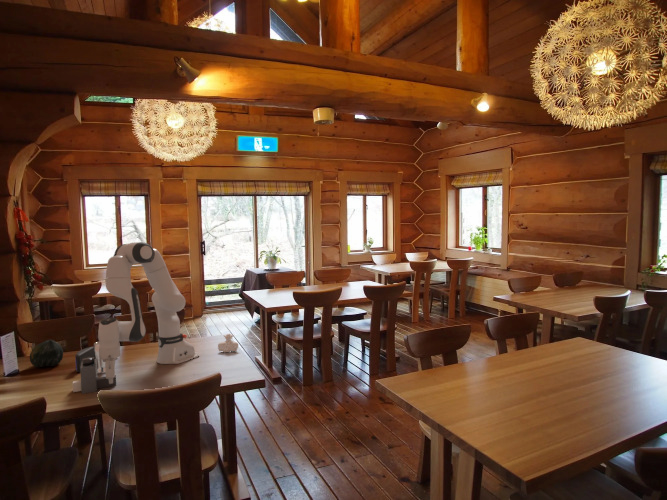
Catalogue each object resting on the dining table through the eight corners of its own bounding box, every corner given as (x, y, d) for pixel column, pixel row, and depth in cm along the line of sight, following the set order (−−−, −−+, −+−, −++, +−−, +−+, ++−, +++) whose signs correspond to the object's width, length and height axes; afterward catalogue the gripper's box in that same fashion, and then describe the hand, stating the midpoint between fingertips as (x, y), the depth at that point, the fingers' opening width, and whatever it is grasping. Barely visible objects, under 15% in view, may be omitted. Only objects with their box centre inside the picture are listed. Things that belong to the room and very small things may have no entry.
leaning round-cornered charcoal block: (87, 362, 235) (86, 346, 234) (96, 362, 235) (95, 345, 234) (70, 373, 219) (69, 355, 218) (79, 373, 219) (79, 355, 218)
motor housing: (97, 383, 205) (96, 354, 204) (96, 391, 195) (95, 361, 194) (83, 385, 203) (81, 356, 202) (81, 393, 193) (79, 363, 192)
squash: (26, 354, 232) (30, 337, 225) (58, 349, 243) (63, 333, 236) (31, 376, 225) (35, 360, 218) (63, 370, 236) (68, 354, 229)
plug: (116, 383, 205) (115, 375, 205) (116, 385, 202) (115, 377, 202) (73, 389, 197) (73, 381, 197) (72, 392, 194) (72, 383, 194)
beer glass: (103, 374, 217) (102, 345, 216) (91, 373, 219) (90, 344, 218) (113, 369, 224) (112, 341, 223) (101, 368, 226) (100, 340, 224)
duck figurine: (238, 354, 254) (240, 336, 260) (236, 350, 247) (238, 331, 254) (218, 355, 253) (220, 337, 260) (215, 350, 247) (218, 332, 253)
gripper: (117, 358, 194) (118, 388, 195) (117, 346, 212) (118, 373, 213) (101, 360, 191) (102, 390, 192) (102, 348, 209) (104, 375, 210)
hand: (111, 381), depth 203 cm, fingers closed on plug, 3 cm apart
